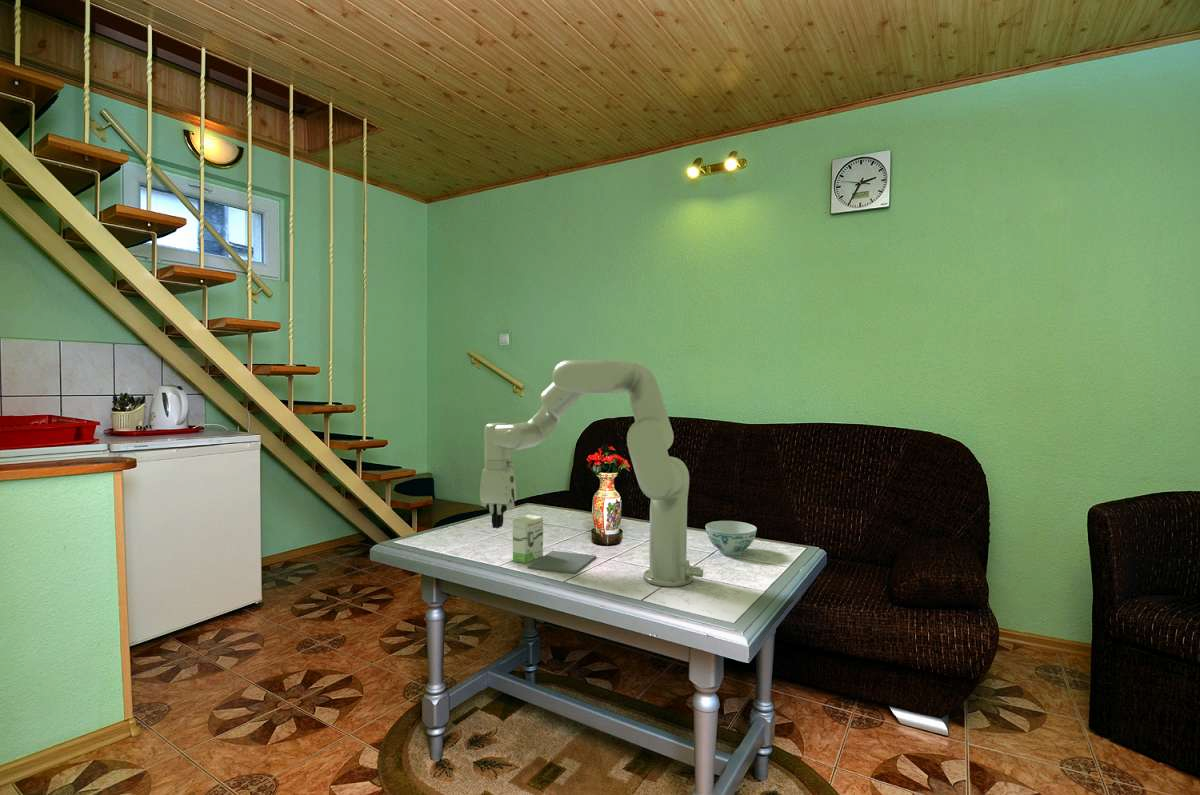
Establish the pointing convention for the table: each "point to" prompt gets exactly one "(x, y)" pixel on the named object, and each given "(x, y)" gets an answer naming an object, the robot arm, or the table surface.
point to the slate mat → (562, 562)
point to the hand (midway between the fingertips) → (497, 526)
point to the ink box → (527, 538)
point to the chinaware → (731, 536)
